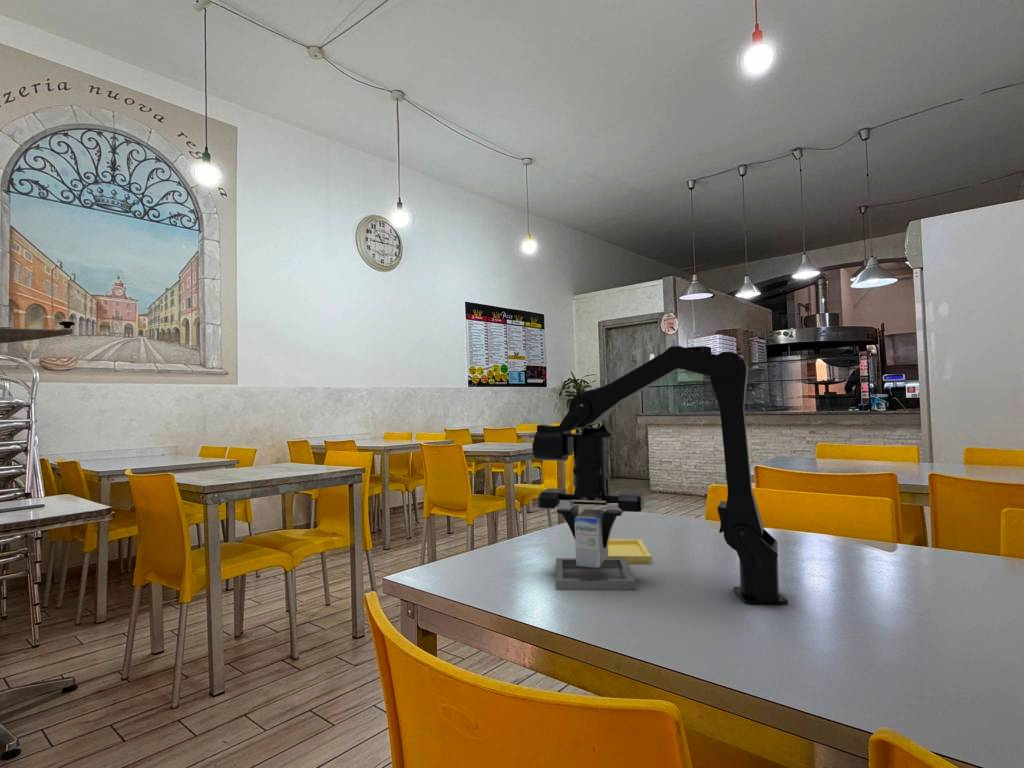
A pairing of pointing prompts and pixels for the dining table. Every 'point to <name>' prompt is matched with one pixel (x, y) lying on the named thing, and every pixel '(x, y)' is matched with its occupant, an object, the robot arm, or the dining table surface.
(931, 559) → the dining table surface
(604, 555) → the medicine box
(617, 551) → the tray
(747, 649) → the dining table surface
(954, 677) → the dining table surface
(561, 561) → the socket frame
